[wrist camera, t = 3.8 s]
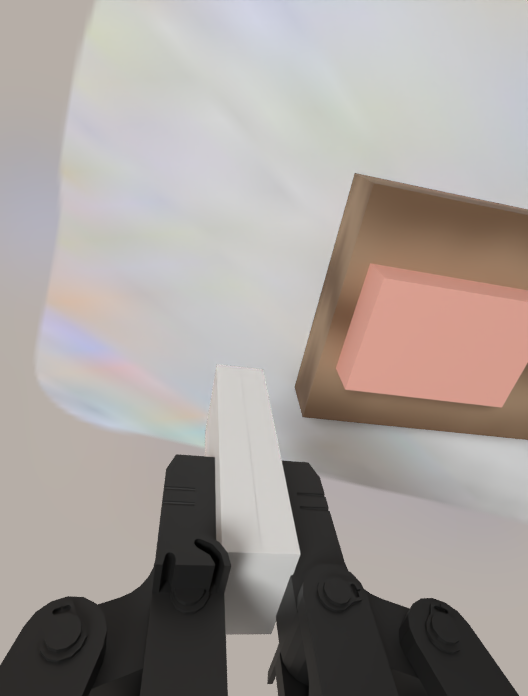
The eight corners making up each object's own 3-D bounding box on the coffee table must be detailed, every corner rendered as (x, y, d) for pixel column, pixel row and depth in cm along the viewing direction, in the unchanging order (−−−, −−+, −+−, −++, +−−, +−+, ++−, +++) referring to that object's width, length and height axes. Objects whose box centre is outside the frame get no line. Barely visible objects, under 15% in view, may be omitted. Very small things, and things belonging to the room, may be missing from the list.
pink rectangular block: (335, 368, 23) (345, 389, 22) (370, 263, 21) (384, 277, 19) (482, 386, 25) (501, 407, 23) (532, 291, 22) (559, 307, 21)
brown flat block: (354, 173, 21) (373, 183, 19) (650, 235, 25) (701, 251, 22) (294, 387, 28) (302, 417, 25) (537, 414, 31) (567, 443, 28)
